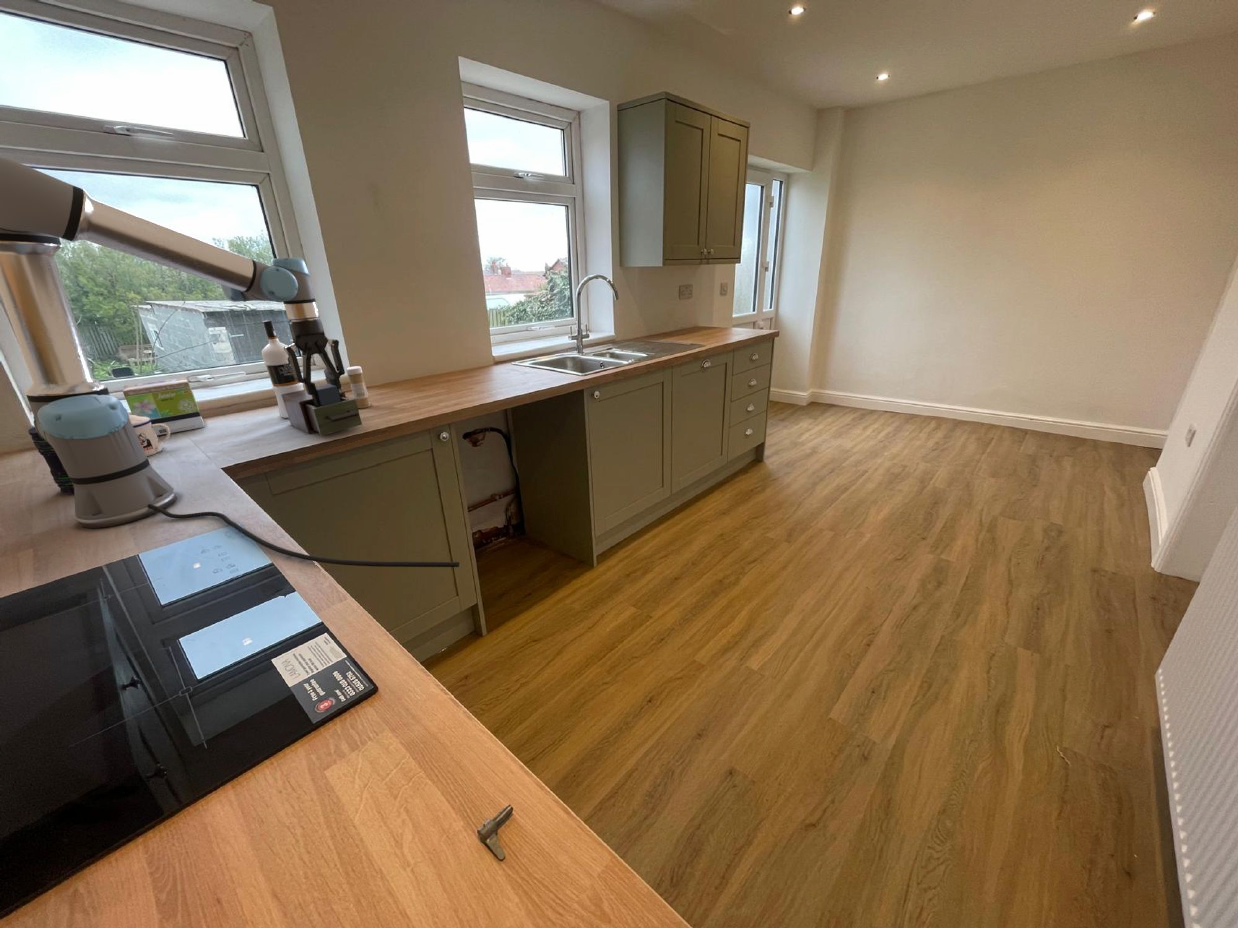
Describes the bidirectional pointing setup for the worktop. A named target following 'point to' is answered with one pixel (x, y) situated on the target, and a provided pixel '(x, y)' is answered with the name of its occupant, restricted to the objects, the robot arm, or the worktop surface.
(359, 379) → the sprinkles bottle
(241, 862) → the worktop surface
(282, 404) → the vodka
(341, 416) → the drawer
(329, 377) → the grey figurine
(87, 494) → the robot arm
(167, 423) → the tea box
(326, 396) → the block
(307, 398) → the cabinet
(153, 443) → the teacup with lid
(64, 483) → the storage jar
